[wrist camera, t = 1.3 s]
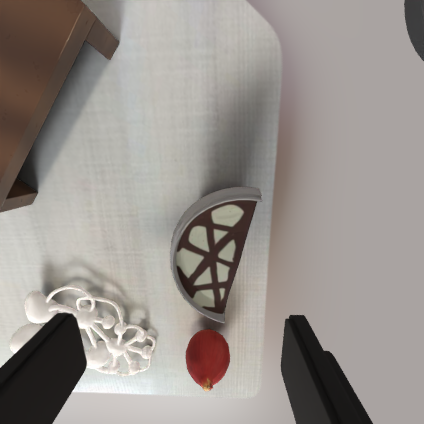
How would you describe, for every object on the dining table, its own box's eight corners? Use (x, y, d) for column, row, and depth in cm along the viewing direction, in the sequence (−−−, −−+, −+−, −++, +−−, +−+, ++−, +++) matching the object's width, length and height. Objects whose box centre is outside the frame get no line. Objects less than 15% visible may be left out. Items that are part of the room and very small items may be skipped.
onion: (212, 352, 32) (210, 415, 24) (182, 333, 31) (170, 393, 23) (236, 329, 30) (241, 389, 22) (205, 309, 29) (200, 364, 22)
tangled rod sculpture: (175, 315, 31) (170, 337, 27) (136, 380, 34) (127, 409, 30) (53, 261, 29) (28, 276, 25) (21, 336, 31) (-6, 361, 27)
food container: (196, 165, 24) (179, 173, 14) (246, 177, 24) (264, 193, 14) (177, 256, 27) (154, 313, 17) (222, 266, 27) (222, 328, 18)
